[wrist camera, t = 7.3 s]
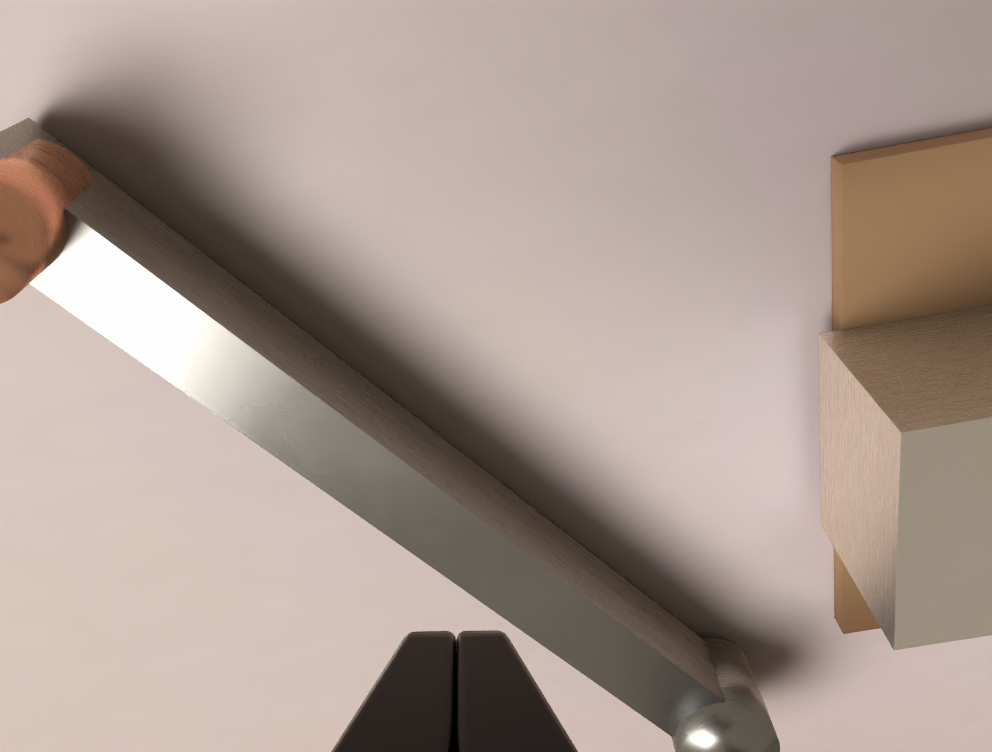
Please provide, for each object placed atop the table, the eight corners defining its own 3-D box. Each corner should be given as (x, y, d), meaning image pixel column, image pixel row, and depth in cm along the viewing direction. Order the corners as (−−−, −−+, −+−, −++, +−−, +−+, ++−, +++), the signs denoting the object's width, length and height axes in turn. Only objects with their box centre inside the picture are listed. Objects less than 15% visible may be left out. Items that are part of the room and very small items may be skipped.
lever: (767, 669, 24) (815, 788, 21) (697, 718, 25) (733, 841, 21) (42, 100, 17) (-57, 146, 14) (-25, 194, 17) (-134, 260, 14)
